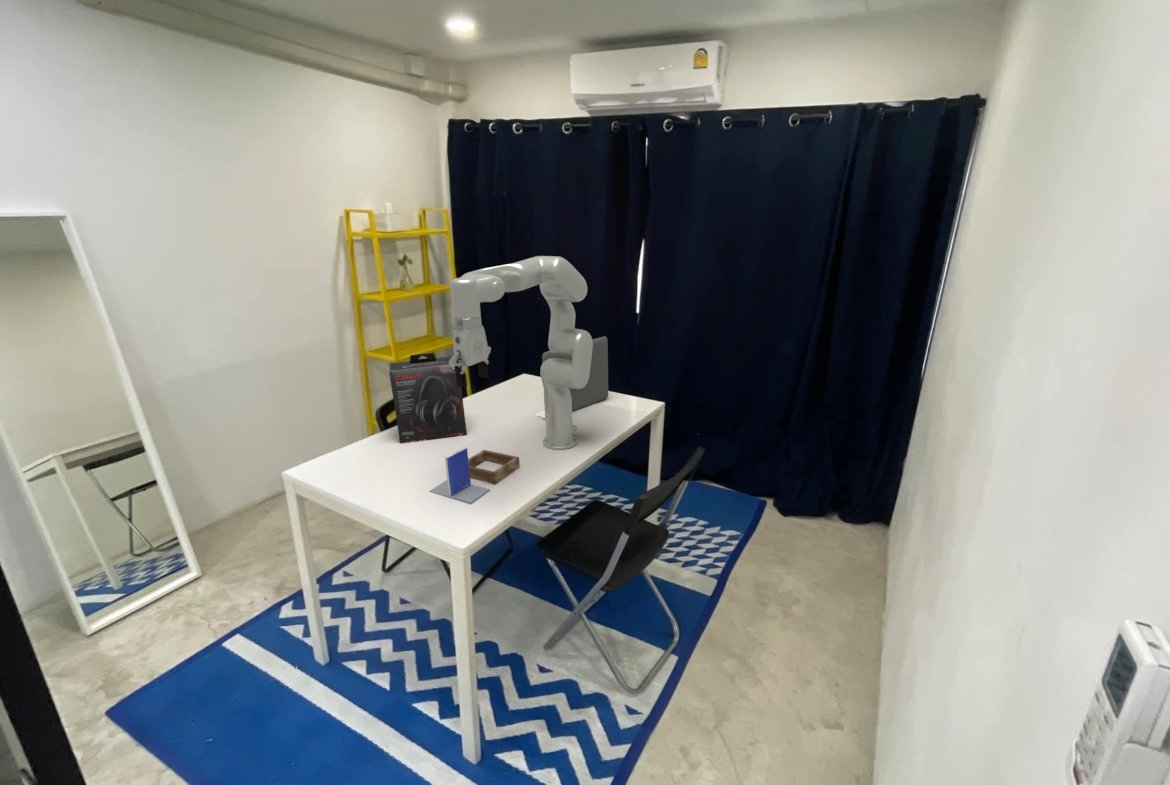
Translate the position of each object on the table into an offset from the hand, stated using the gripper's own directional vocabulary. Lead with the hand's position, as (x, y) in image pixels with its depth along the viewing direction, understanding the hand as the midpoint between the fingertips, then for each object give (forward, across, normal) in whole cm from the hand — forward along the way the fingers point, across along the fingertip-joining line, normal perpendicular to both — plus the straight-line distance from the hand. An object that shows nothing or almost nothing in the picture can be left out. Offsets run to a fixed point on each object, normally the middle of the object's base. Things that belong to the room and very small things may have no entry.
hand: (473, 381), depth 160 cm
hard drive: (+34, -5, +5) cm, 34 cm away
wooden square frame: (+34, +10, +5) cm, 36 cm away
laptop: (+35, +77, +20) cm, 87 cm away
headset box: (+35, +25, +43) cm, 61 cm away
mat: (+34, -5, +5) cm, 35 cm away
